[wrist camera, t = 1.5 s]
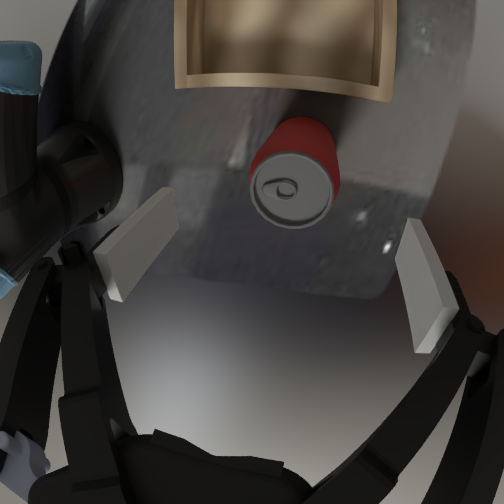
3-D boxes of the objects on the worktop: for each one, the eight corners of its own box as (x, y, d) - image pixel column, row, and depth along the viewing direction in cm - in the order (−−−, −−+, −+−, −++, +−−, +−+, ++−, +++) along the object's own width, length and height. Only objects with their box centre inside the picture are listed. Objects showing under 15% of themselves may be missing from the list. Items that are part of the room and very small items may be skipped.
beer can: (271, 113, 27) (240, 140, 17) (337, 118, 25) (347, 149, 16) (270, 173, 30) (242, 230, 21) (331, 179, 29) (335, 241, 20)
